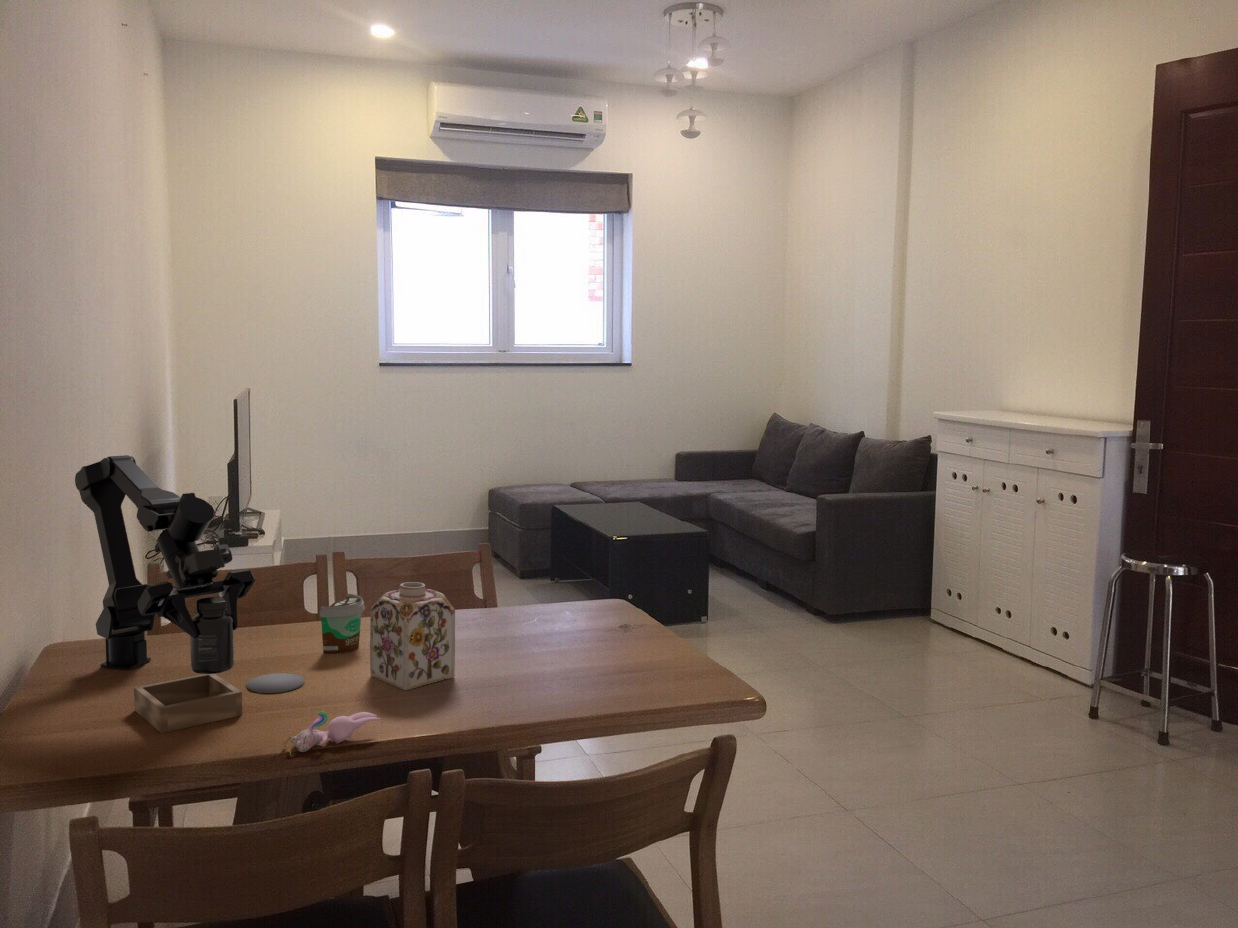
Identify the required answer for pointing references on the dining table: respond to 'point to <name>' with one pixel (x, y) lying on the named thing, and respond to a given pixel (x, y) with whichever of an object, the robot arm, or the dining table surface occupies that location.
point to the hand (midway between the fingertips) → (216, 632)
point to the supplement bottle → (212, 637)
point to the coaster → (275, 683)
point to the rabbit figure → (329, 730)
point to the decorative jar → (412, 637)
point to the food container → (342, 625)
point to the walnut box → (187, 702)
